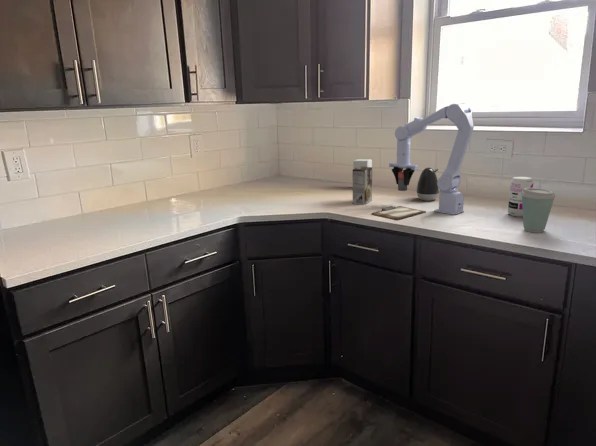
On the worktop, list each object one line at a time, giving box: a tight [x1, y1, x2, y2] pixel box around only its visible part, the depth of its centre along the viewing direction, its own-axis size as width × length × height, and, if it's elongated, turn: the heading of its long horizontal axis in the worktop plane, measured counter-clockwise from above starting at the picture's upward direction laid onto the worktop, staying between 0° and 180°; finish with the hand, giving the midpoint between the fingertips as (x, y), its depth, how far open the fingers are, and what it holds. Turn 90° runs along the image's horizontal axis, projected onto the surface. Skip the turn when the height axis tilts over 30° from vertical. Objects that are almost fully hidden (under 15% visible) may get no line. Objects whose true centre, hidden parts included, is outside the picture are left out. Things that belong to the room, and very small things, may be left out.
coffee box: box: [352, 166, 373, 206], centre depth 218 cm, size 9×6×16 cm
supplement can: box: [507, 175, 534, 218], centre depth 187 cm, size 8×8×15 cm
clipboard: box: [371, 205, 427, 221], centre depth 197 cm, size 14×18×2 cm
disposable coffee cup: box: [521, 187, 556, 234], centre depth 165 cm, size 11×11×15 cm
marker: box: [397, 171, 408, 192], centre depth 209 cm, size 4×4×8 cm
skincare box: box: [352, 158, 373, 169], centre depth 249 cm, size 8×7×16 cm
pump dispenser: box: [415, 167, 440, 202], centre depth 219 cm, size 10×10×15 cm
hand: (402, 184), depth 209 cm, fingers closed on marker, 4 cm apart
